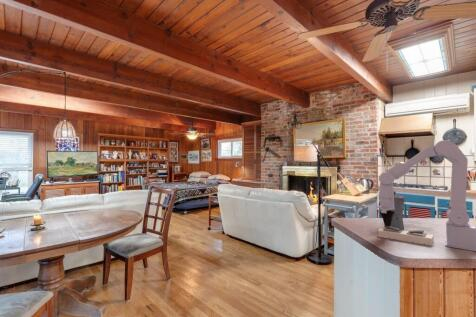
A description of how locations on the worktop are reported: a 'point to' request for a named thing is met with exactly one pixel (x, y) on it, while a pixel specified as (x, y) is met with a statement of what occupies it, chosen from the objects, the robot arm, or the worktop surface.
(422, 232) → the rocker
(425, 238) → the power strip
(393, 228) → the rocker
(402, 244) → the worktop surface
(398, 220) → the moka pot
